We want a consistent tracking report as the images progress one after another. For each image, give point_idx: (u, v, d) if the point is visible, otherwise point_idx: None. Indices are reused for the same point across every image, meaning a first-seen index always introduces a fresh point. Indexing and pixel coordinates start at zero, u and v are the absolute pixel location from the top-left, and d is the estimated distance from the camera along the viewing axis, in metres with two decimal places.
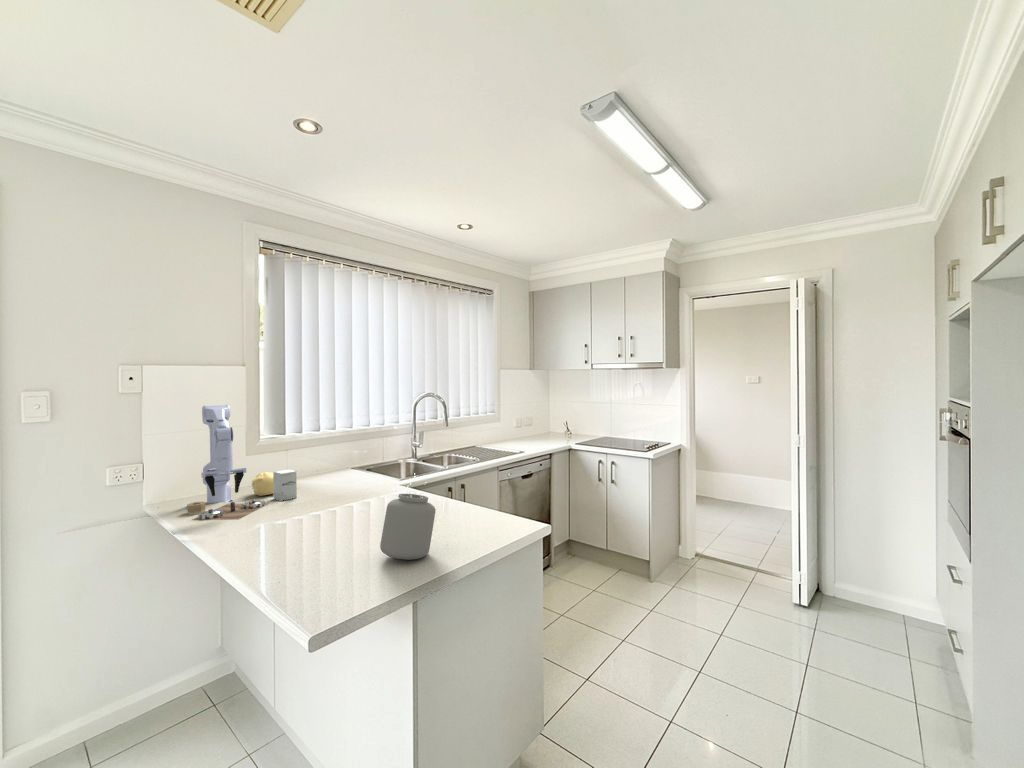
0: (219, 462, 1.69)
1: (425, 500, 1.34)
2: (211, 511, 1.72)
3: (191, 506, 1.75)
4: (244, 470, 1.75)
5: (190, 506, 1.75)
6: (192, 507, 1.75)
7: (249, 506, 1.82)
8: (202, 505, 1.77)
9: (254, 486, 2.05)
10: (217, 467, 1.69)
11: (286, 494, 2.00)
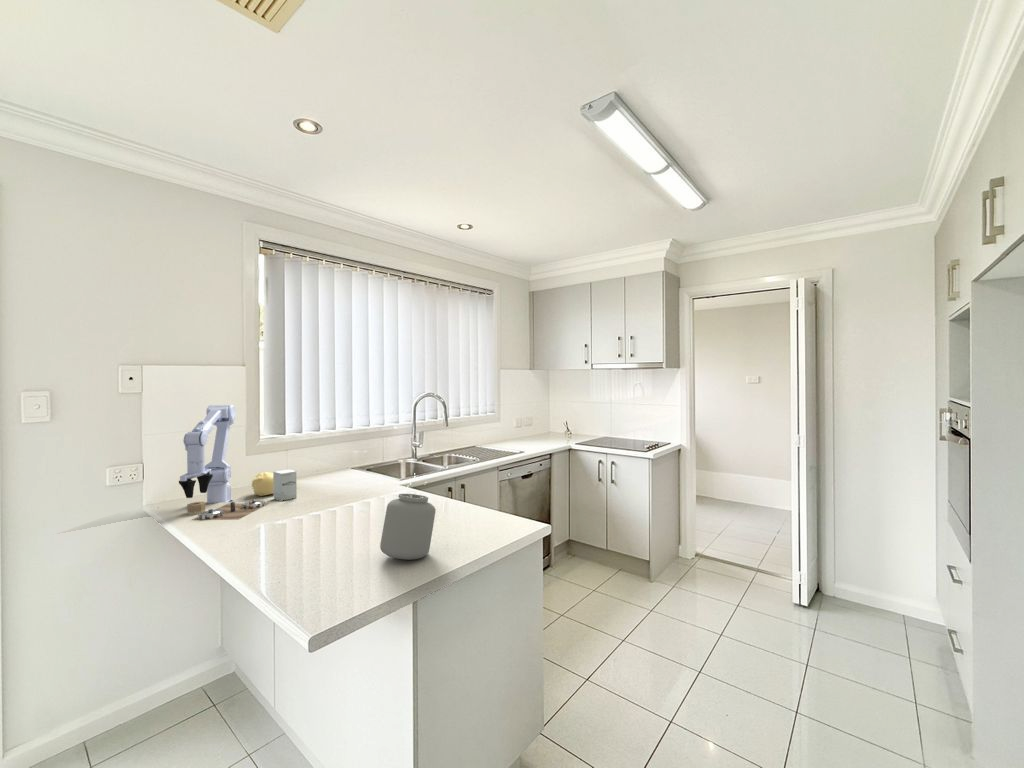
0: (197, 465, 1.75)
1: (425, 500, 1.34)
2: (211, 511, 1.72)
3: (191, 506, 1.75)
4: (210, 471, 1.84)
5: (190, 506, 1.75)
6: (192, 507, 1.75)
7: (249, 506, 1.82)
8: (202, 505, 1.77)
9: (254, 486, 2.05)
10: (195, 470, 1.75)
11: (286, 494, 2.00)
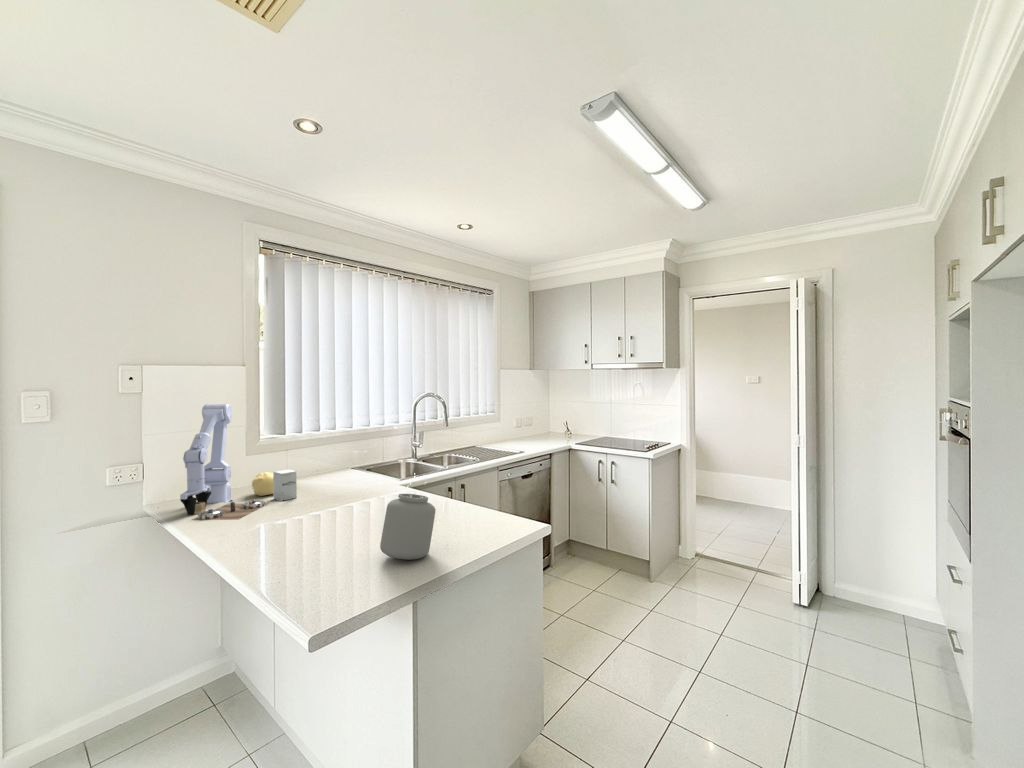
0: (197, 482, 1.76)
1: (425, 500, 1.34)
2: (211, 511, 1.72)
3: None
4: (209, 488, 1.84)
5: None
6: None
7: (249, 506, 1.82)
8: (202, 505, 1.77)
9: (254, 486, 2.05)
10: (195, 487, 1.75)
11: (286, 494, 2.00)
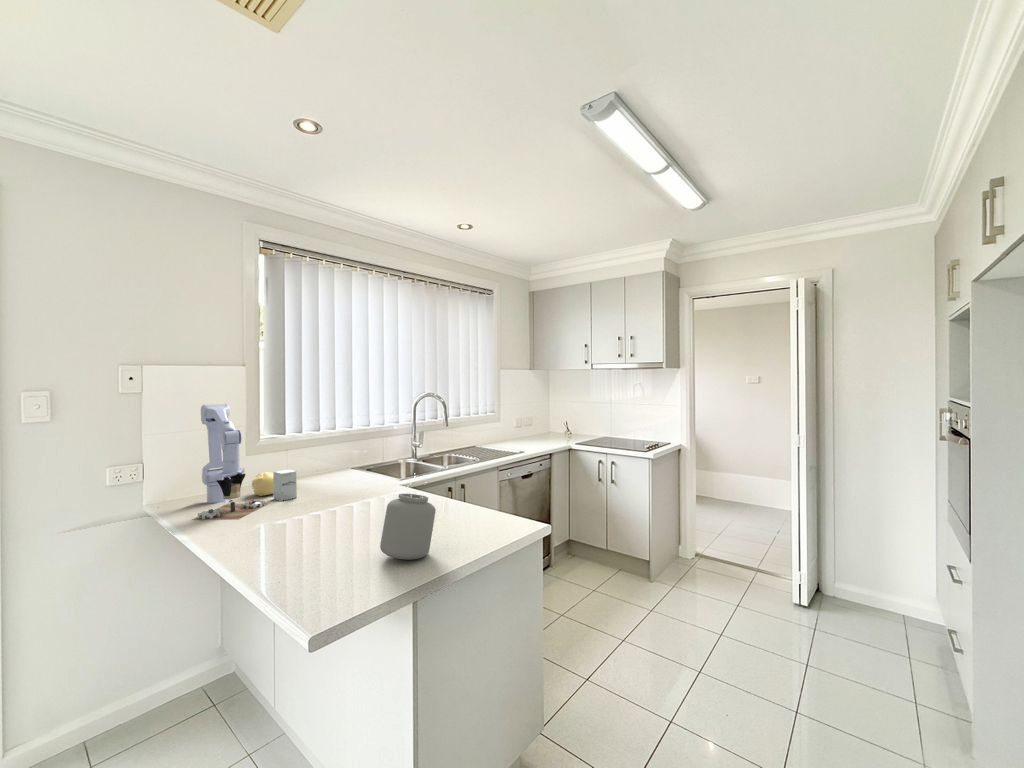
0: (233, 464, 1.77)
1: (425, 500, 1.34)
2: (211, 511, 1.72)
3: None
4: (243, 470, 1.85)
5: None
6: None
7: (249, 506, 1.82)
8: (237, 487, 1.78)
9: (254, 486, 2.05)
10: (230, 469, 1.76)
11: (286, 494, 2.00)
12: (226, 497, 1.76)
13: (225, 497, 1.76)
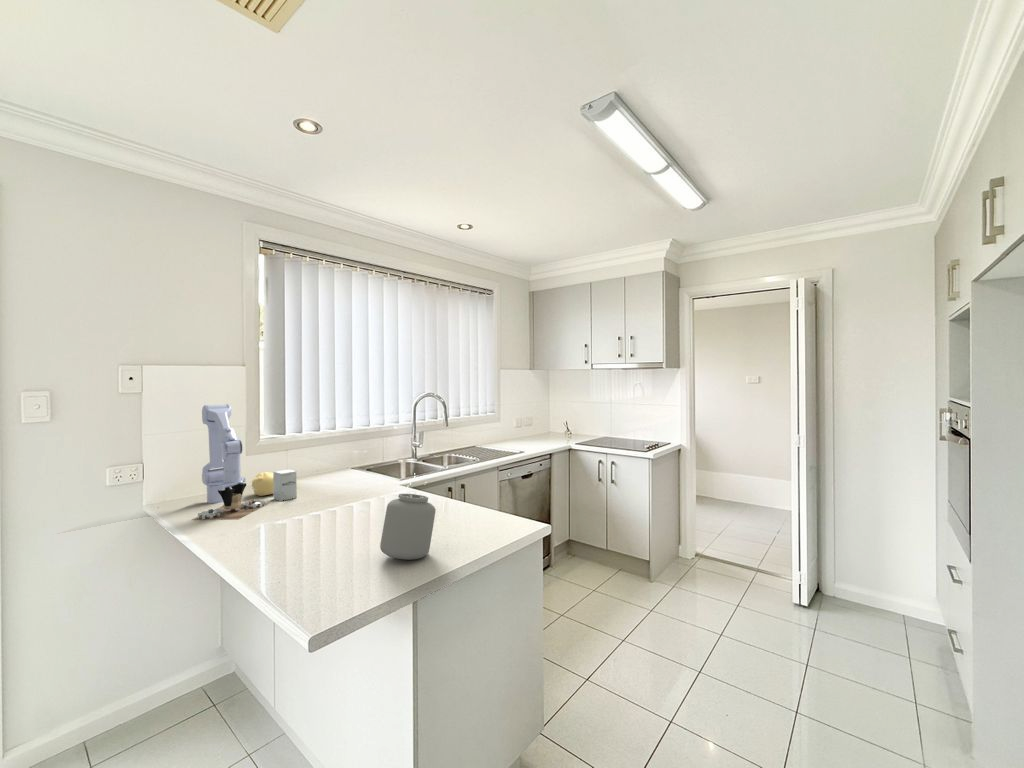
0: (234, 474, 1.77)
1: (425, 500, 1.34)
2: (211, 511, 1.72)
3: None
4: (244, 480, 1.85)
5: None
6: None
7: (249, 506, 1.82)
8: (238, 496, 1.78)
9: (254, 486, 2.05)
10: (231, 479, 1.76)
11: (286, 494, 2.00)
12: (227, 508, 1.76)
13: (226, 507, 1.76)
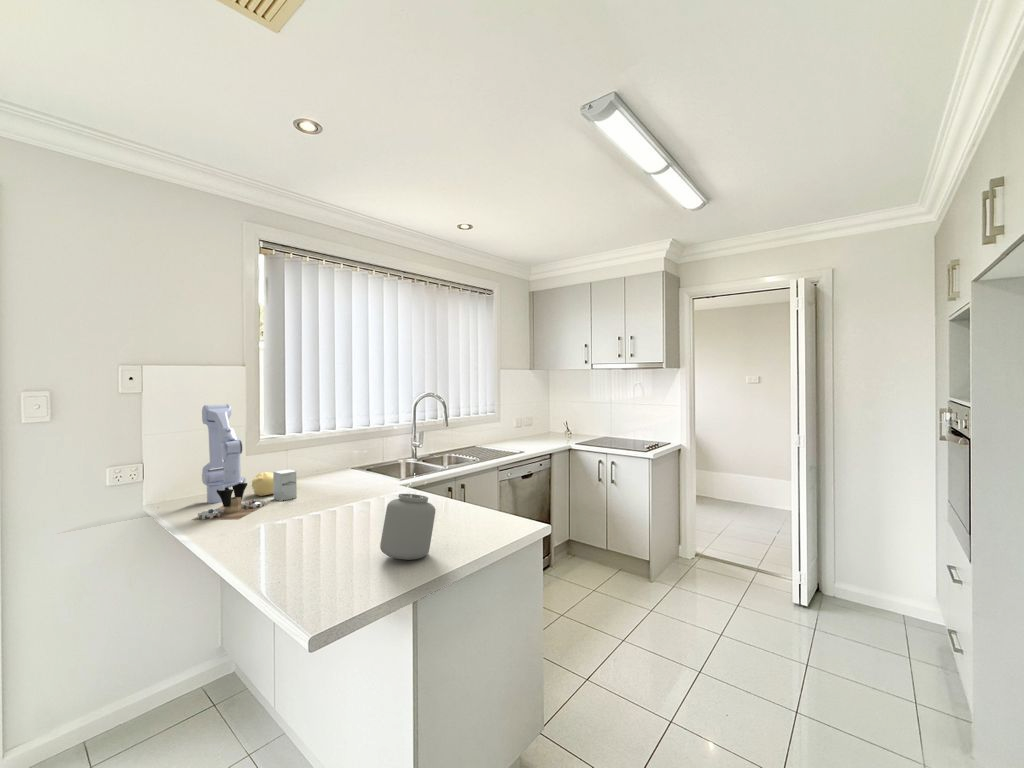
0: (234, 474, 1.77)
1: (425, 500, 1.34)
2: (211, 511, 1.72)
3: None
4: (244, 480, 1.85)
5: None
6: None
7: (249, 506, 1.82)
8: (238, 500, 1.78)
9: (254, 486, 2.05)
10: (231, 479, 1.76)
11: (286, 494, 2.00)
12: (227, 511, 1.76)
13: (226, 511, 1.76)
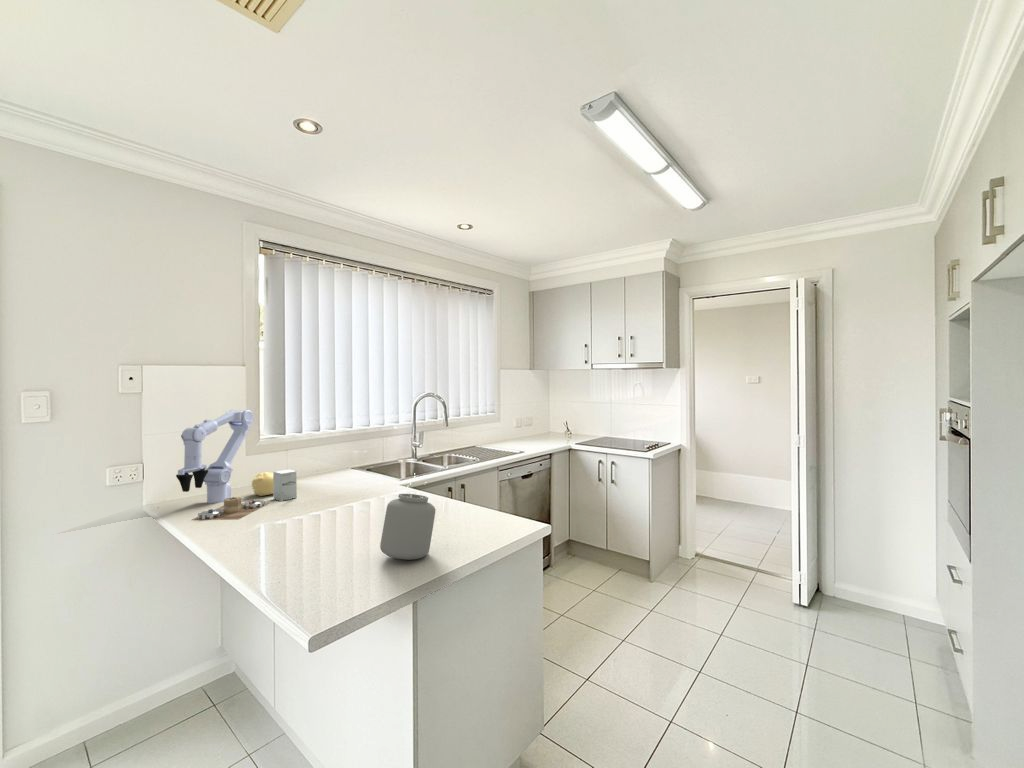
0: (195, 460, 1.81)
1: (425, 500, 1.34)
2: (211, 511, 1.72)
3: (228, 501, 1.76)
4: (205, 467, 1.90)
5: (227, 501, 1.76)
6: (229, 502, 1.76)
7: (249, 506, 1.82)
8: (238, 500, 1.78)
9: (254, 486, 2.05)
10: (192, 464, 1.81)
11: (286, 494, 2.00)
12: (227, 511, 1.76)
13: (226, 511, 1.76)
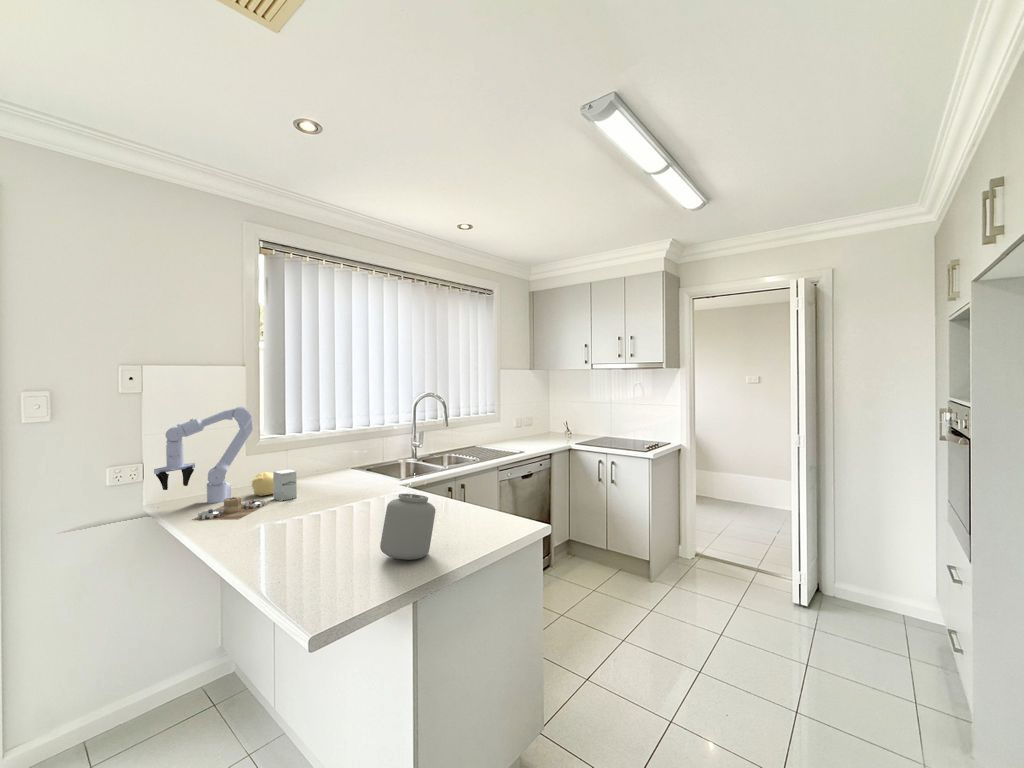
0: (172, 459, 1.84)
1: (425, 500, 1.34)
2: (211, 511, 1.72)
3: (228, 501, 1.76)
4: (193, 465, 1.92)
5: (227, 501, 1.76)
6: (229, 502, 1.76)
7: (249, 506, 1.82)
8: (238, 500, 1.78)
9: (254, 486, 2.05)
10: (170, 464, 1.84)
11: (286, 494, 2.00)
12: (227, 511, 1.76)
13: (226, 511, 1.76)
